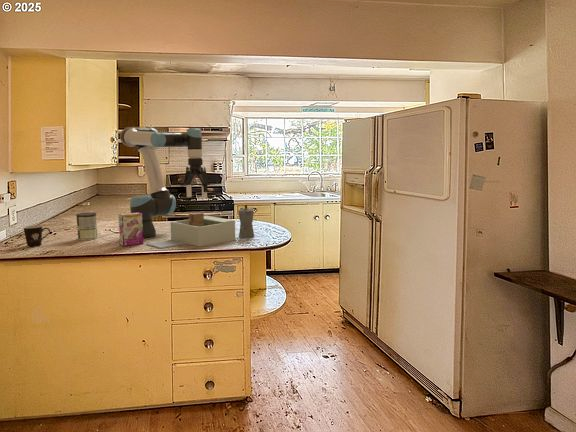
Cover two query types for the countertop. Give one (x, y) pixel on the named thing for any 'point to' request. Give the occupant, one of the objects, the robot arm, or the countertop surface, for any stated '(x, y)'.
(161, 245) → the pad
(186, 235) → the crate
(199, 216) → the walnut block
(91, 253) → the countertop surface
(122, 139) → the robot arm
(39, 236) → the coffee mug
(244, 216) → the coffeepot
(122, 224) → the candy bar box
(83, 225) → the coffee can
